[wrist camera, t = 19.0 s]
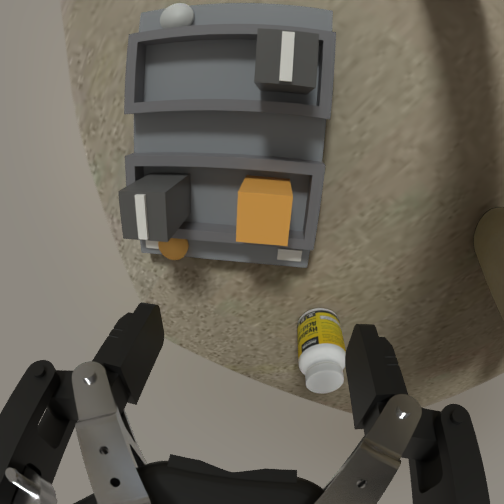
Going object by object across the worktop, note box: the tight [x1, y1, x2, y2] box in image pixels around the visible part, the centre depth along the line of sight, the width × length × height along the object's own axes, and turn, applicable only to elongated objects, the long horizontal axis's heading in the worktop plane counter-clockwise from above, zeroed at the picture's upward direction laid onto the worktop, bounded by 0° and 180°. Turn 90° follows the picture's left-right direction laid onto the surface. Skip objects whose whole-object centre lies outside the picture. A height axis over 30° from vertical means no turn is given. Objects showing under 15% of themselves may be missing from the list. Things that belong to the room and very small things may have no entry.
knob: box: [254, 28, 319, 95], centre depth 19 cm, size 4×4×7 cm
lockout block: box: [236, 175, 293, 246], centre depth 25 cm, size 4×4×6 cm
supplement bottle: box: [297, 308, 346, 393], centre depth 32 cm, size 5×5×10 cm
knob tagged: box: [118, 173, 191, 242], centre depth 24 cm, size 4×4×7 cm
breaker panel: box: [124, 3, 336, 268], centre depth 25 cm, size 18×26×4 cm
